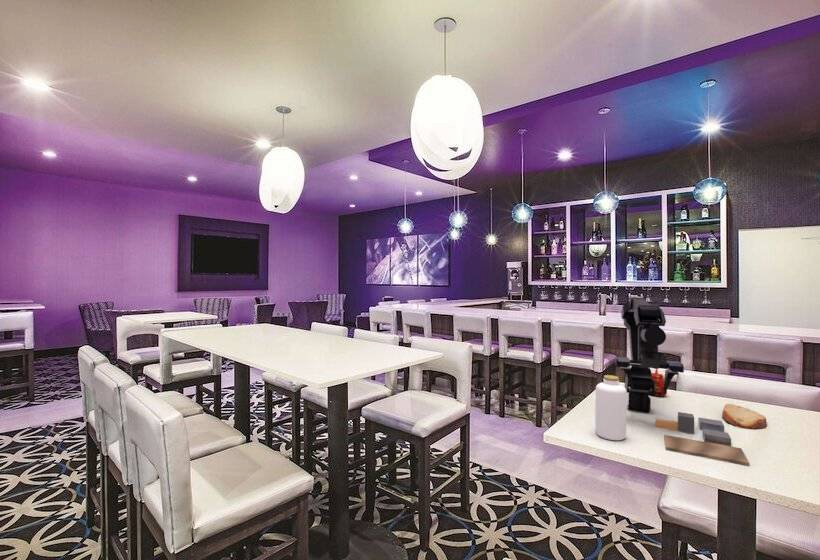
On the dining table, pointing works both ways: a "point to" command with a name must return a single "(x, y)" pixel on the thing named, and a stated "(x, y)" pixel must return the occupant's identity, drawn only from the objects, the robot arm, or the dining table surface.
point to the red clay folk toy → (658, 384)
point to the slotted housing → (714, 431)
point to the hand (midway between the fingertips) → (648, 391)
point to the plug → (679, 423)
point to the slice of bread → (743, 417)
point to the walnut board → (706, 449)
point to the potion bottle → (611, 409)
